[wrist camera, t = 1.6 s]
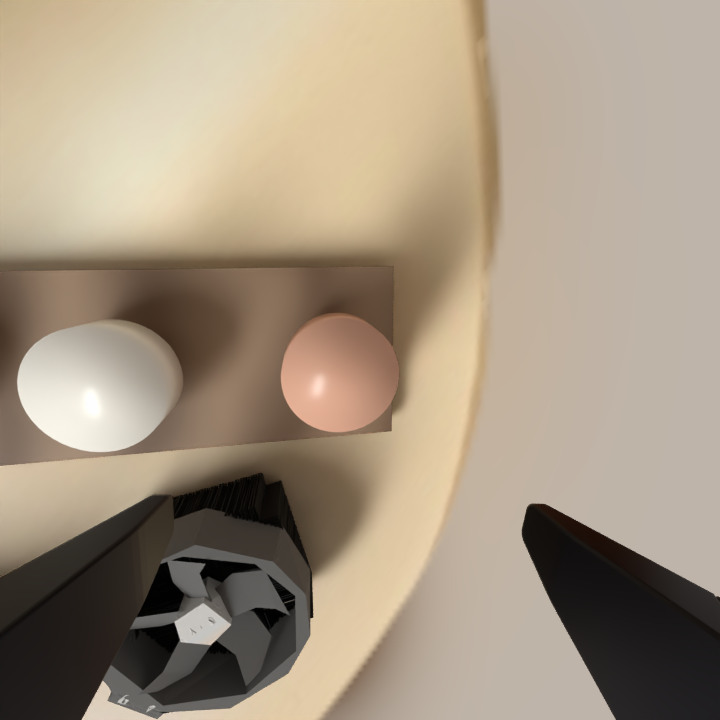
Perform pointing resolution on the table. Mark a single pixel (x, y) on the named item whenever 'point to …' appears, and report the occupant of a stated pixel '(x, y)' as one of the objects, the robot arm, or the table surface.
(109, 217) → the table surface
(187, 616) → the cpu cooler
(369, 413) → the terracotta key
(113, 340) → the cream key
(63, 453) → the board
